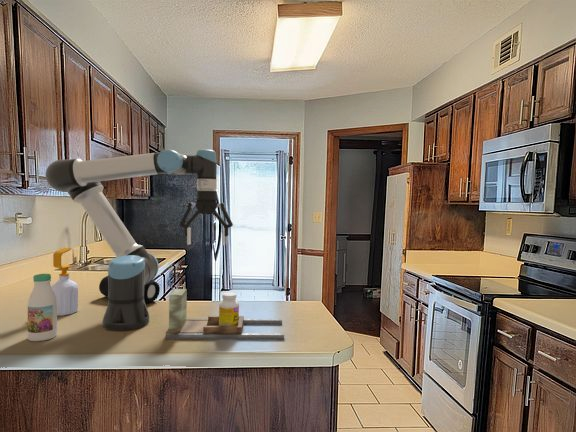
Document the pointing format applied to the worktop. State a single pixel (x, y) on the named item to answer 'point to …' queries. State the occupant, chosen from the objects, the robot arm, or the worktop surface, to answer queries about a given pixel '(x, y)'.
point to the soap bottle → (64, 287)
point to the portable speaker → (149, 289)
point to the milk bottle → (42, 310)
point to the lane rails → (230, 335)
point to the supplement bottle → (229, 310)
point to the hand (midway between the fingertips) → (206, 244)
